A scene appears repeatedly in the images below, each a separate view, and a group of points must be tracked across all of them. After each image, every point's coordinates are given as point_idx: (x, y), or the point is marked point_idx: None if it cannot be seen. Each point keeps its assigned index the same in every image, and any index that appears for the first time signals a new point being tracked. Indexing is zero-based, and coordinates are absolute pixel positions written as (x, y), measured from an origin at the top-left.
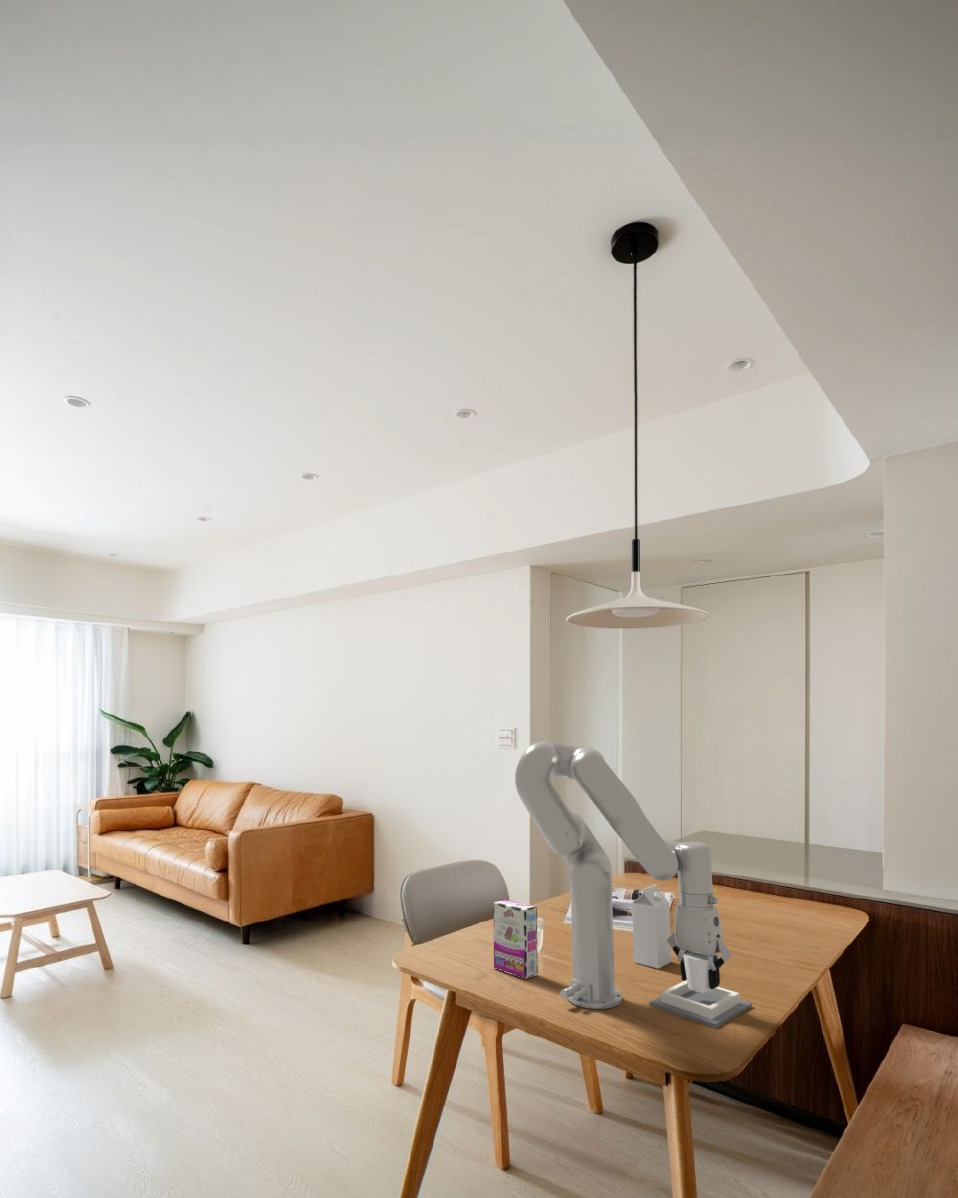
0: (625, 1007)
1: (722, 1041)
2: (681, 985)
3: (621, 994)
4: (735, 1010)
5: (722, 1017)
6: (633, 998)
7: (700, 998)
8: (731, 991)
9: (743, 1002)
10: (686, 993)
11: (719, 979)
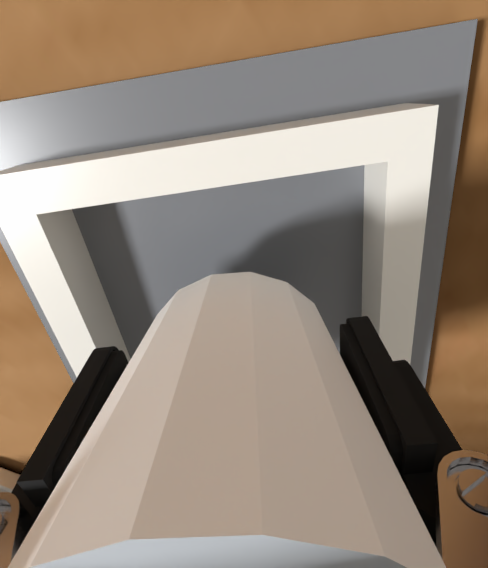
0: None
1: (474, 449)
2: (83, 333)
3: (9, 490)
4: (433, 241)
5: (415, 355)
6: (20, 435)
7: (197, 262)
8: (369, 132)
9: (423, 72)
10: (100, 270)
11: (416, 381)
